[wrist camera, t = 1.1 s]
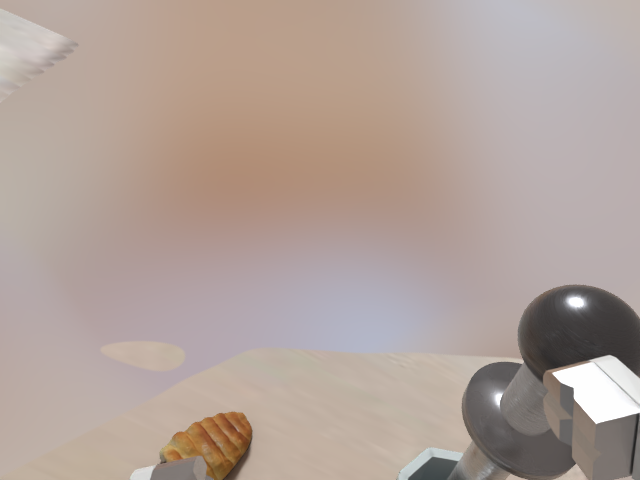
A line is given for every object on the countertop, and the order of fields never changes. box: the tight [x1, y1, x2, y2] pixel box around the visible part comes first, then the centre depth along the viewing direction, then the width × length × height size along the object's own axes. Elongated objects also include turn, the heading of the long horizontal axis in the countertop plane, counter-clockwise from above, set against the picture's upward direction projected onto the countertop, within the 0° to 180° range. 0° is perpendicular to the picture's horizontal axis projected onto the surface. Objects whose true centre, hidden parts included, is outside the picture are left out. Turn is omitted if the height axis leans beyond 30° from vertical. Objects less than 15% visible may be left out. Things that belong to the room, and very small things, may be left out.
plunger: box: [447, 285, 640, 480], centre depth 26 cm, size 6×6×26 cm
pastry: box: [160, 412, 252, 480], centre depth 45 cm, size 9×7×4 cm
